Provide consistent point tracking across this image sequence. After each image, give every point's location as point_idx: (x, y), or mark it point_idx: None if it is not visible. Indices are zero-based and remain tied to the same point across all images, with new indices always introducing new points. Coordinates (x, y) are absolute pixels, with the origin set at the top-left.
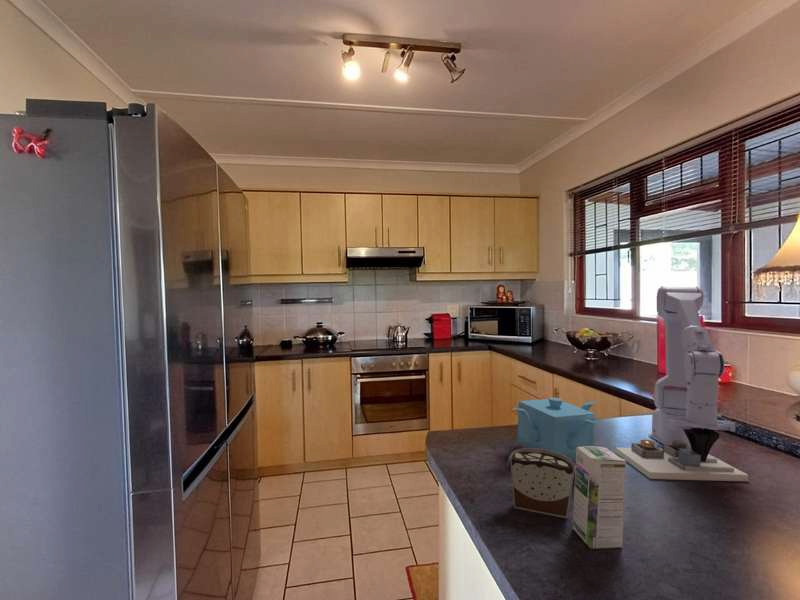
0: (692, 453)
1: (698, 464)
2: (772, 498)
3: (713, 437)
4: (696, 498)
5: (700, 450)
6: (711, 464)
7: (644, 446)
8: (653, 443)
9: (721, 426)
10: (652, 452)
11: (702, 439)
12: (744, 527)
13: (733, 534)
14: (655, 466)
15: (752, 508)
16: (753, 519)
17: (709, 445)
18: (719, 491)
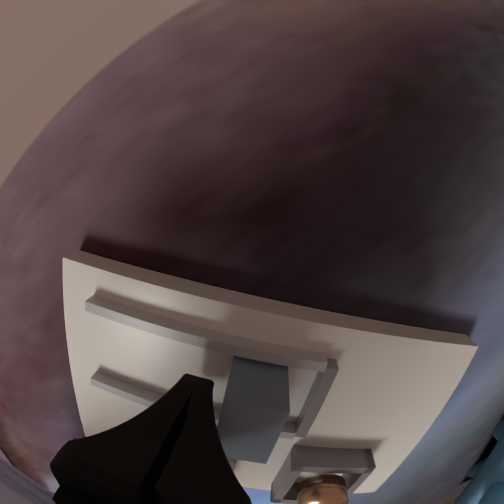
0: (255, 420)
1: (240, 367)
2: (121, 111)
3: (115, 464)
4: (455, 173)
5: (213, 422)
6: (132, 368)
7: (345, 488)
8: (316, 498)
9: (7, 496)
10: (341, 464)
11: (211, 479)
12: (446, 12)
13: (492, 19)
14: (412, 390)
15: (304, 53)
16: (380, 14)
17: (148, 429)
18: (301, 194)
